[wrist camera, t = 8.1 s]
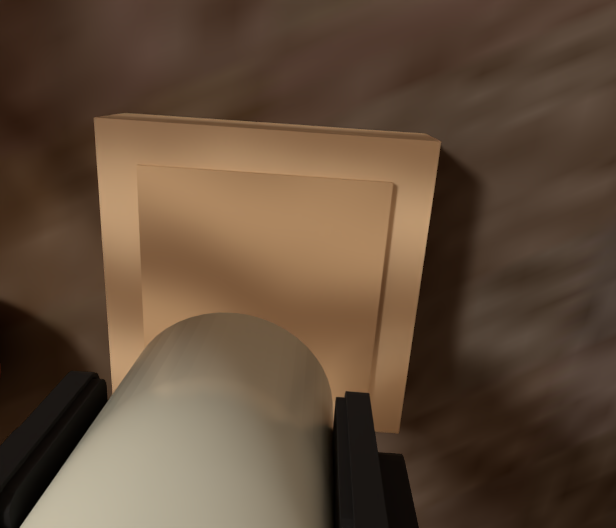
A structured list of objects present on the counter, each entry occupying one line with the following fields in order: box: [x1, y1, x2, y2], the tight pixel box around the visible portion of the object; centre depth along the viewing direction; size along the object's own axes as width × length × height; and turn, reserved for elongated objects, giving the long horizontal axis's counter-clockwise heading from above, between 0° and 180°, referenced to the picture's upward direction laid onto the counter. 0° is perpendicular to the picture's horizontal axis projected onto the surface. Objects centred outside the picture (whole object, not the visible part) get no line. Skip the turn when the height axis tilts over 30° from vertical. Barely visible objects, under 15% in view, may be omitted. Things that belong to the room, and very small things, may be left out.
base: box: [94, 113, 441, 433], centre depth 21 cm, size 12×12×3 cm
